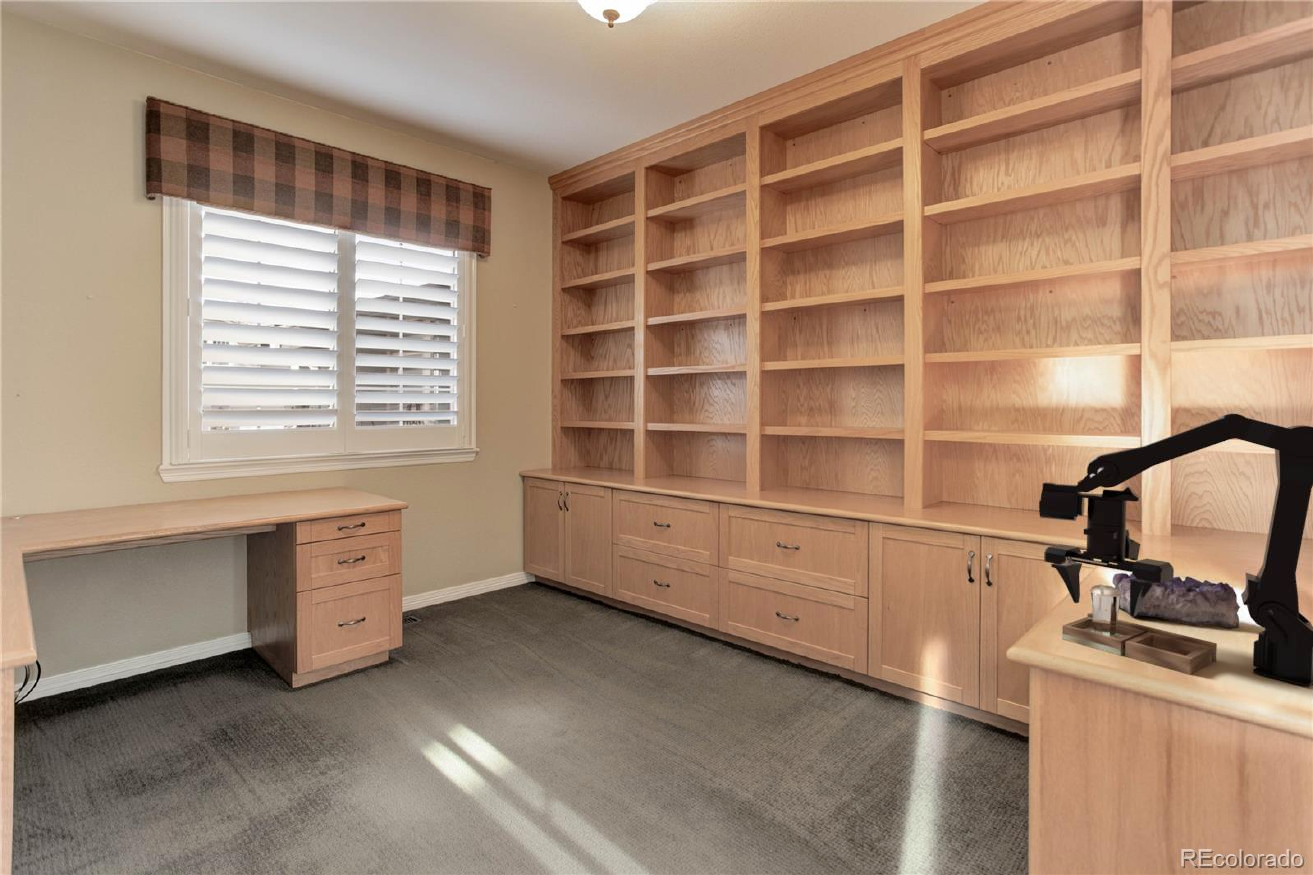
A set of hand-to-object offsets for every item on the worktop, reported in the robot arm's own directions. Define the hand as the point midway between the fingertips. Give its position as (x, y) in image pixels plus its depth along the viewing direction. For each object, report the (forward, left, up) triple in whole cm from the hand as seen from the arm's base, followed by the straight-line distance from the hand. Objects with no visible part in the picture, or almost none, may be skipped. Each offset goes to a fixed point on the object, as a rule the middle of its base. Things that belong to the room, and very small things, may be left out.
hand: (1104, 609), depth 117 cm
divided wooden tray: (-5, 0, -6) cm, 8 cm away
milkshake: (0, 0, -5) cm, 5 cm away
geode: (-1, -27, -6) cm, 28 cm away
